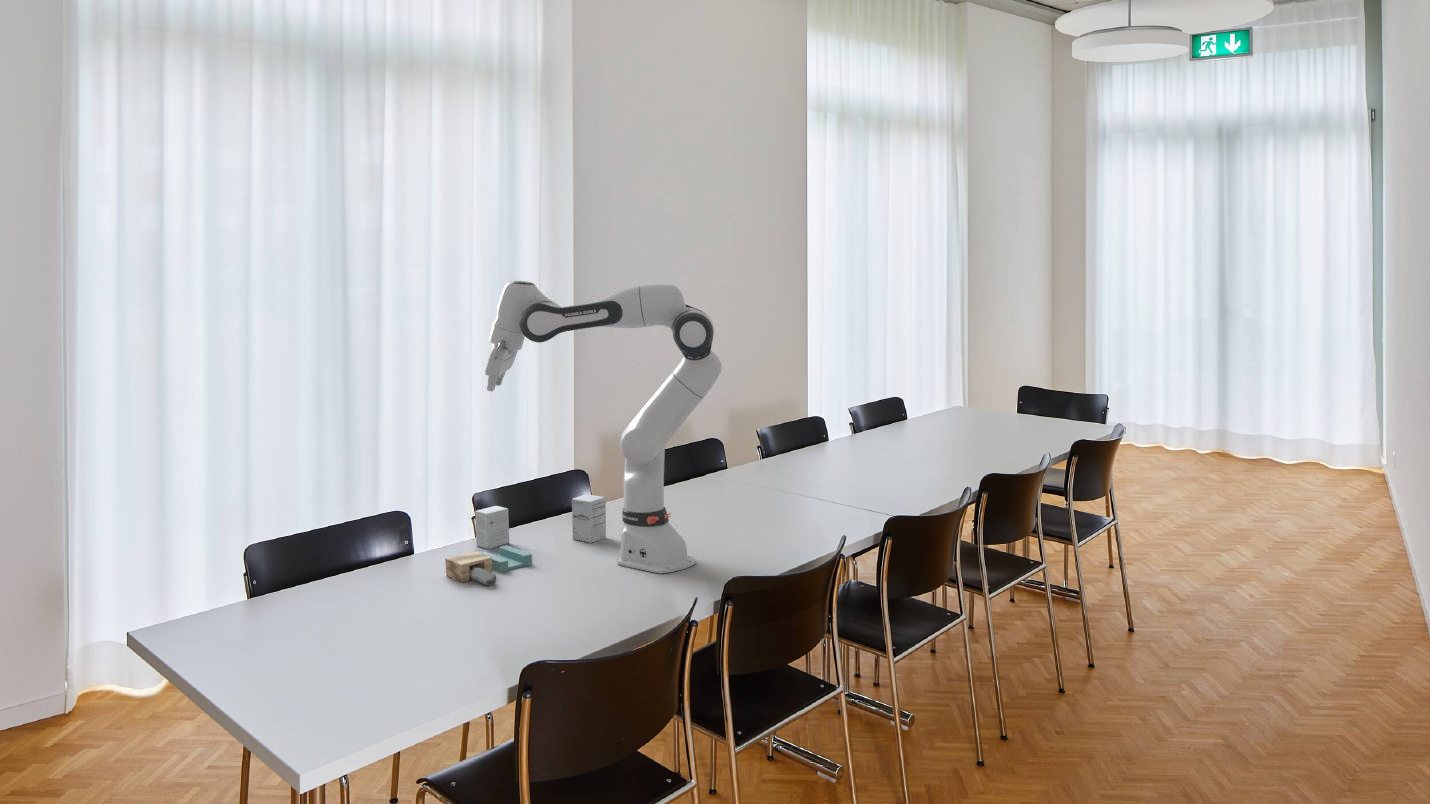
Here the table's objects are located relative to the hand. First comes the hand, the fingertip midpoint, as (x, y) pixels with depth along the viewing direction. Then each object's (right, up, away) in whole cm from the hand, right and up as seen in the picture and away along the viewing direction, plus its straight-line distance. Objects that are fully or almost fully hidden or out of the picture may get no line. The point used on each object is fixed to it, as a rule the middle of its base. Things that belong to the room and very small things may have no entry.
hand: (493, 387), depth 260 cm
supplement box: (+22, -45, +26) cm, 57 cm away
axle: (-3, -50, -8) cm, 51 cm away
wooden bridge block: (-5, -49, -7) cm, 50 cm away
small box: (-5, -46, +21) cm, 51 cm away
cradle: (+2, -48, +3) cm, 48 cm away
